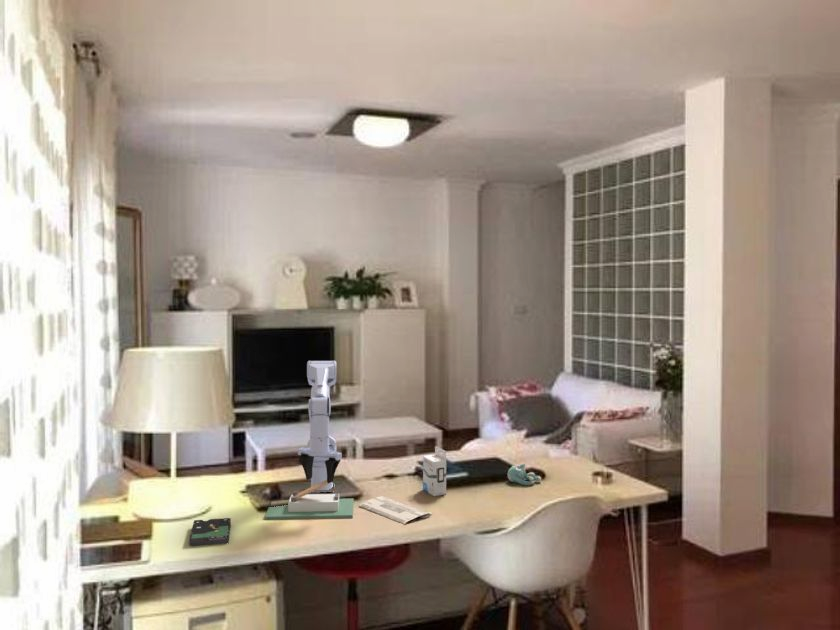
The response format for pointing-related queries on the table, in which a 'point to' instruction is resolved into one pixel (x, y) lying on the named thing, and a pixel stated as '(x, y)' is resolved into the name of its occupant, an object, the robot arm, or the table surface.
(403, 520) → the newspaper
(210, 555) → the table surface
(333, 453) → the robot arm
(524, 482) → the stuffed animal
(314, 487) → the strip
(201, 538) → the disk drive
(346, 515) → the board
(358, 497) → the table surface
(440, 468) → the ink box
